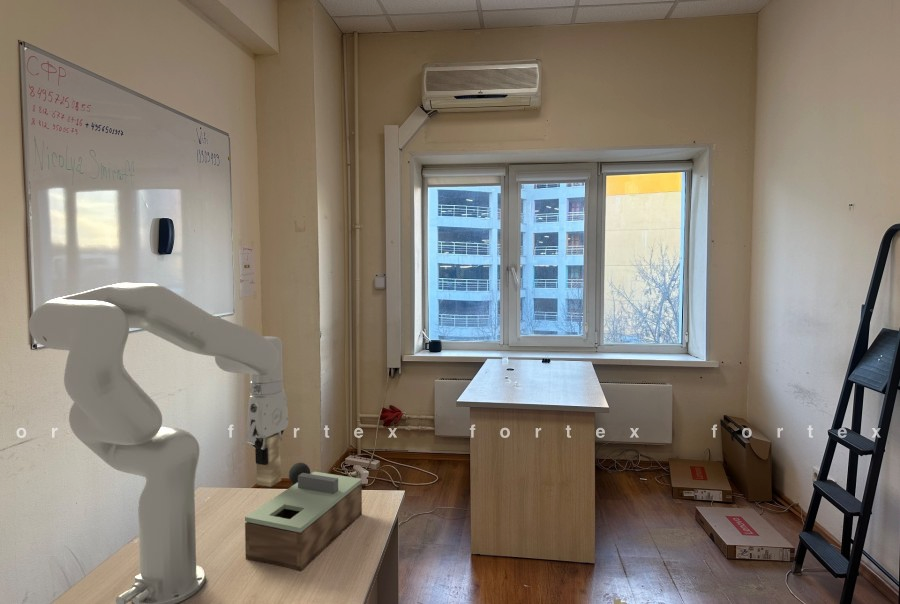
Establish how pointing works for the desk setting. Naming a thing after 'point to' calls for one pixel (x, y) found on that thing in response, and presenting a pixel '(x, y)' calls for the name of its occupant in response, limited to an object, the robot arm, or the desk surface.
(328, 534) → the brown wooden box
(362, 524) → the desk surface
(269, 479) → the block
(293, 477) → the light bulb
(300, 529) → the lid
